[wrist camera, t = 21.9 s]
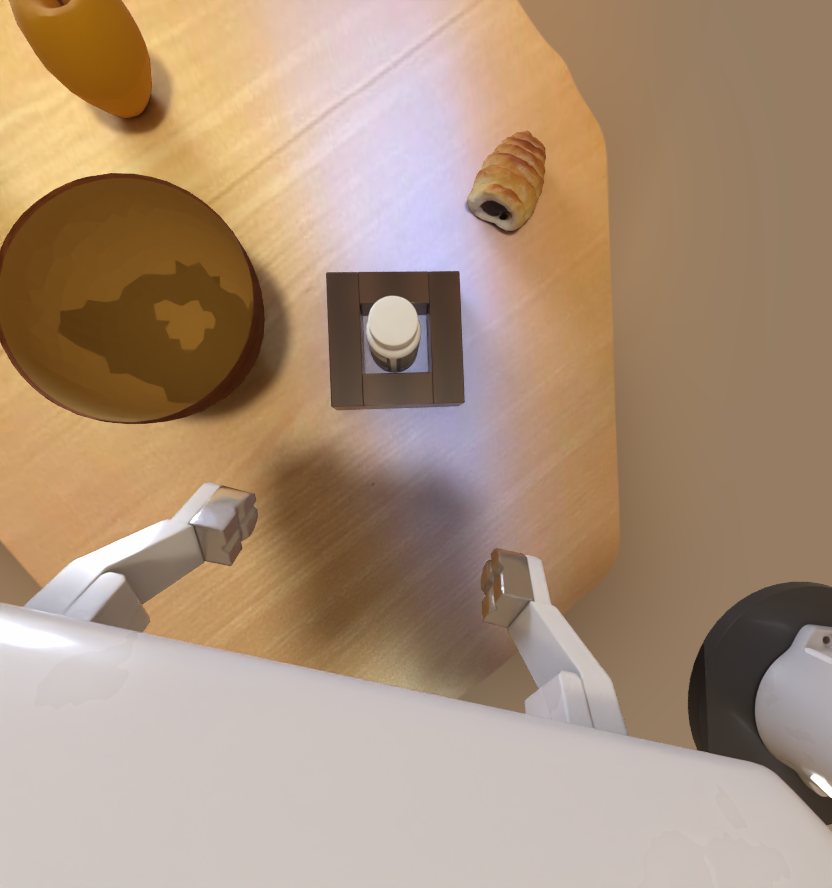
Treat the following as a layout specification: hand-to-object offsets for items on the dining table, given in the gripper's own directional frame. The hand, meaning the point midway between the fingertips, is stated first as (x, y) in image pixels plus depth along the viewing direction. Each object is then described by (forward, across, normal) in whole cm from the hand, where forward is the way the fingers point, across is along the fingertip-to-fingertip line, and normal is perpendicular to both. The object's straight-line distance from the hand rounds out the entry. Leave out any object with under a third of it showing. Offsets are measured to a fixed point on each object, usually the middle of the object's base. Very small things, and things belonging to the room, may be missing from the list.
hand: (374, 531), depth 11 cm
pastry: (+38, -4, -10) cm, 40 cm away
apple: (+37, +34, -10) cm, 51 cm away
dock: (+26, +3, +4) cm, 27 cm away
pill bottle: (+26, +3, +5) cm, 27 cm away
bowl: (+24, +21, +7) cm, 33 cm away
